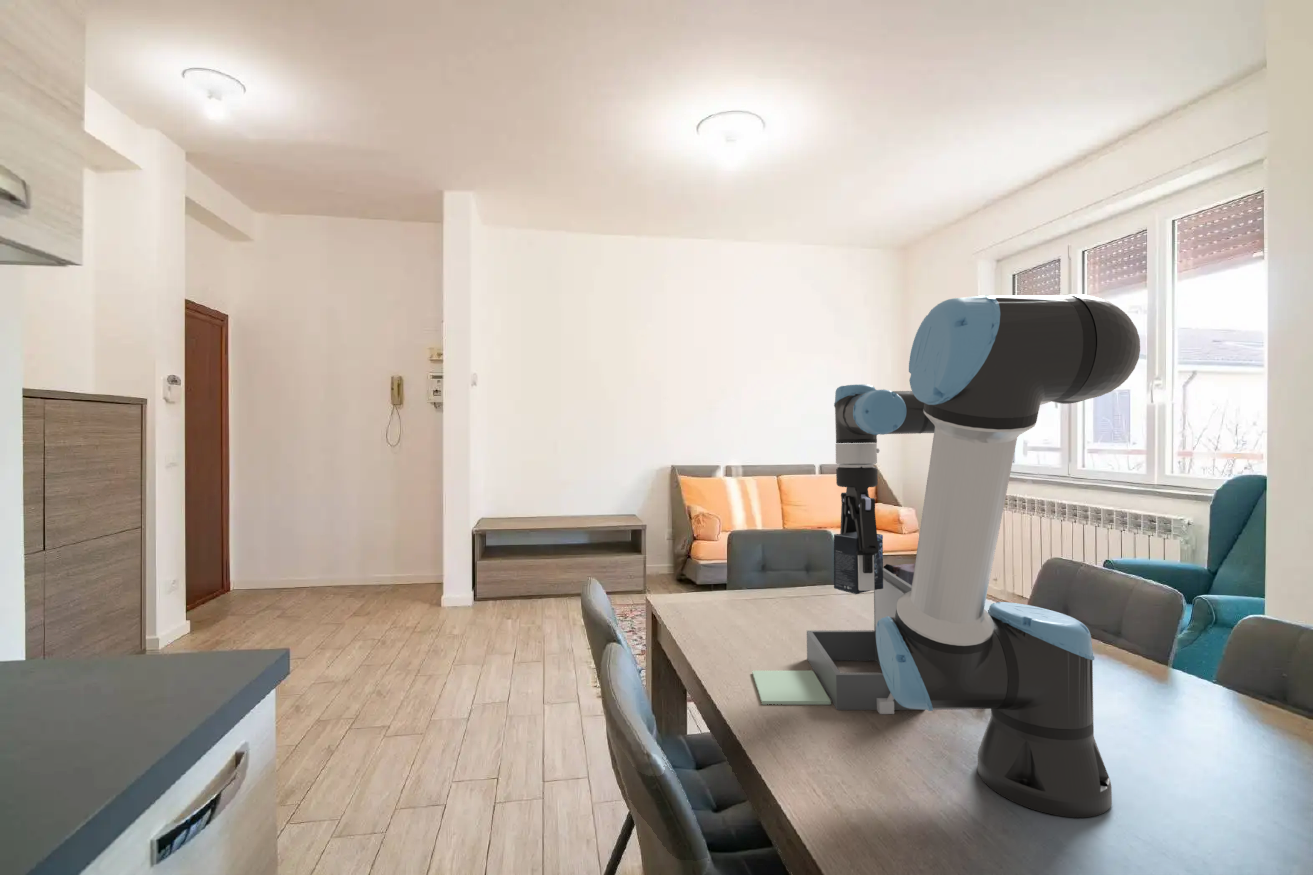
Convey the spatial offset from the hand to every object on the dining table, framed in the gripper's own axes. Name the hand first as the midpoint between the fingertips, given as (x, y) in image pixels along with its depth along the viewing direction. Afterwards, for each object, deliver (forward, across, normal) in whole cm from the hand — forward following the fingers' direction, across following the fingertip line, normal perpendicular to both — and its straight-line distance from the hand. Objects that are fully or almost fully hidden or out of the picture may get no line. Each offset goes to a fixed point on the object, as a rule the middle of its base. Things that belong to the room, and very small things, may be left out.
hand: (858, 583), depth 115 cm
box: (+1, 0, 0) cm, 1 cm away
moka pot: (+19, +20, -18) cm, 33 cm away
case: (+19, 0, 0) cm, 19 cm away
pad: (+19, -3, +14) cm, 24 cm away
